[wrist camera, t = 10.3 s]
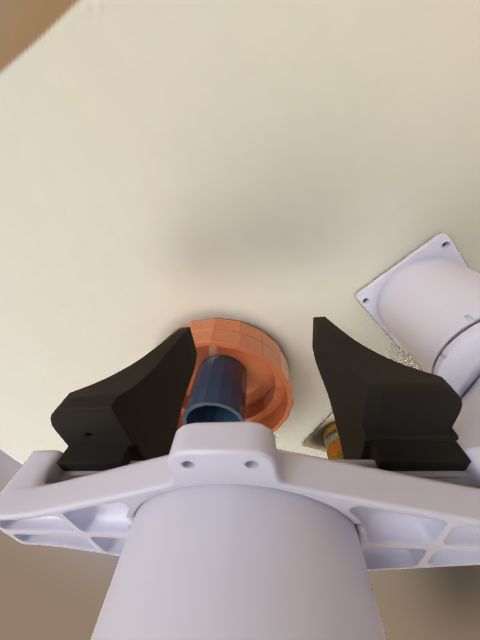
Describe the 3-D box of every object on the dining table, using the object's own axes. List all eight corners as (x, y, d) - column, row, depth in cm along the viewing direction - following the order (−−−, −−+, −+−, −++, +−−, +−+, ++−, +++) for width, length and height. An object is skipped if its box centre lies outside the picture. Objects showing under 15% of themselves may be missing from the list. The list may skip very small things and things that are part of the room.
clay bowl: (314, 372, 28) (323, 405, 24) (227, 426, 34) (223, 459, 30) (215, 287, 23) (207, 310, 19) (135, 368, 29) (116, 398, 25)
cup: (257, 375, 28) (257, 425, 22) (224, 398, 30) (216, 449, 24) (219, 345, 26) (209, 393, 20) (187, 373, 28) (170, 422, 23)
